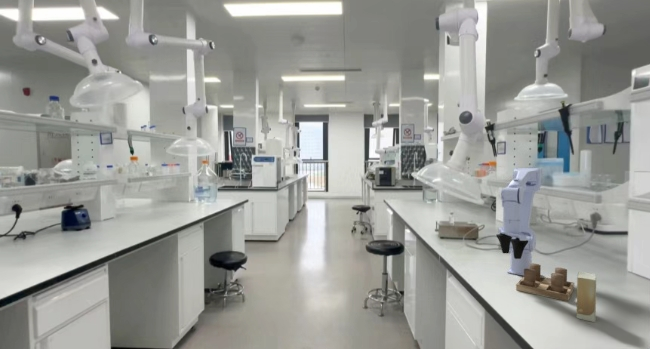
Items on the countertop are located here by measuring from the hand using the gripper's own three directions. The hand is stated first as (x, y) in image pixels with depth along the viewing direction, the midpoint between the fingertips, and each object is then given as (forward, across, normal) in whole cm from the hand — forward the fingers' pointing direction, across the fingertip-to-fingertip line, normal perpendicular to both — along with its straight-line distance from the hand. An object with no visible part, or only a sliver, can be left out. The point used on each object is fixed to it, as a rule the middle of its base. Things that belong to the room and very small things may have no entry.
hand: (511, 255), depth 129 cm
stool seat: (+10, +8, +8) cm, 15 cm away
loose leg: (+10, +8, +2) cm, 13 cm away
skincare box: (+10, +30, +4) cm, 32 cm away
